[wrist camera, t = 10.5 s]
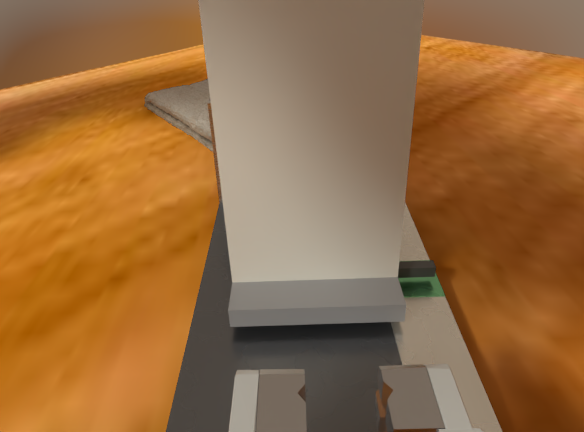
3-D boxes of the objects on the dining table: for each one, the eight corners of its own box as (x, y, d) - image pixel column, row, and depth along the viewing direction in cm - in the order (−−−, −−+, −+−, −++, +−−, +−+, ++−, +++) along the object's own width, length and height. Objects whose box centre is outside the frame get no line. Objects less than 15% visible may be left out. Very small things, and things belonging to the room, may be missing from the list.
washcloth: (218, 161, 45) (214, 129, 43) (141, 112, 57) (136, 85, 56) (319, 129, 51) (319, 100, 49) (230, 91, 63) (227, 66, 62)
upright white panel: (452, 319, 23) (532, -133, 14) (230, 326, 23) (172, -119, 14) (414, 227, 30) (451, -115, 21) (243, 232, 30) (209, -106, 21)
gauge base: (553, 608, 15) (648, 426, 10) (137, 619, 15) (60, 444, 11) (383, 172, 41) (390, 67, 36) (231, 177, 41) (220, 73, 36)
